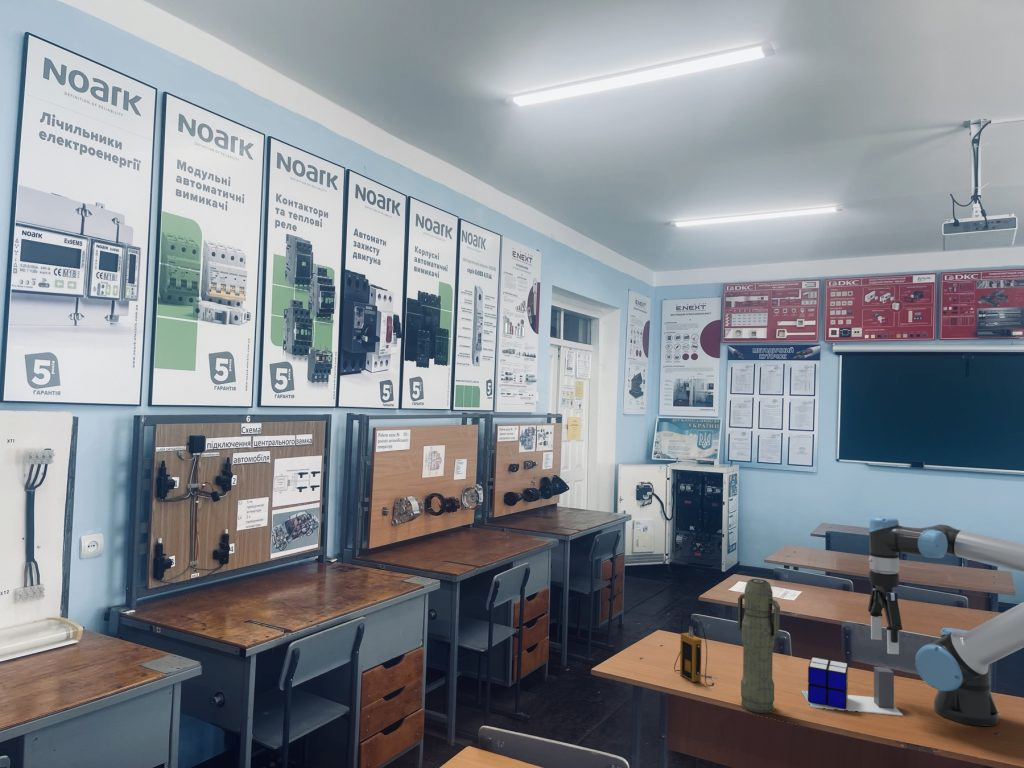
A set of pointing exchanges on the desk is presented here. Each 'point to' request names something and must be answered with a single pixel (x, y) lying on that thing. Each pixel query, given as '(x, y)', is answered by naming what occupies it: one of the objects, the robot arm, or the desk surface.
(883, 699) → the white flat base
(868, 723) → the desk surface
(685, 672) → the multimeter
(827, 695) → the puzzle cube
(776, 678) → the desk surface
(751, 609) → the thermos
